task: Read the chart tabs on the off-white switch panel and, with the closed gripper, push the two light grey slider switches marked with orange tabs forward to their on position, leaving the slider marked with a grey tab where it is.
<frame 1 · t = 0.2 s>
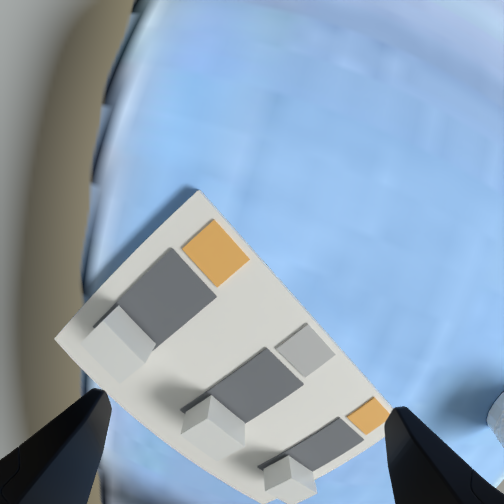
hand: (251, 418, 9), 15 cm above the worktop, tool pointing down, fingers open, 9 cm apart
middle slider: (213, 429, 23), point 3 cm above the worktop, slide at 0.0 cm
switch unit: (238, 393, 25), on the worktop
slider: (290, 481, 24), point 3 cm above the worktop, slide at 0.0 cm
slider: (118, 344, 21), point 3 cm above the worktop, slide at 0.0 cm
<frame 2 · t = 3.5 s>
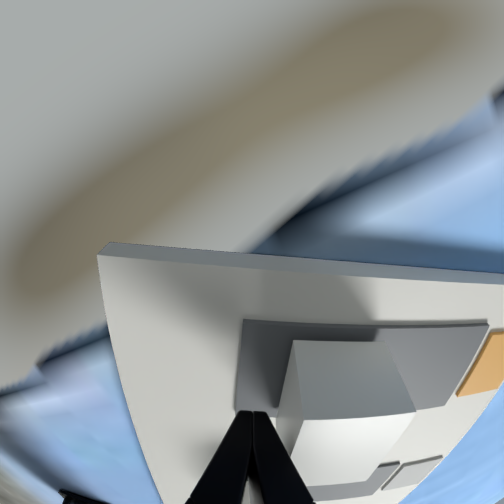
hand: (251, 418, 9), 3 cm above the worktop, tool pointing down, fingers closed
switch unit: (306, 473, 15), on the worktop
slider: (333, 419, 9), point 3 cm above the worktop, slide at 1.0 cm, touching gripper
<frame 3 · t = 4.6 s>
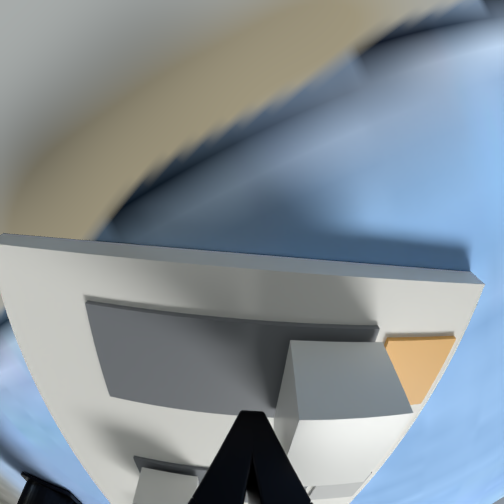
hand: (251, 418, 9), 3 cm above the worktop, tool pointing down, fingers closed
switch unit: (219, 471, 15), on the worktop
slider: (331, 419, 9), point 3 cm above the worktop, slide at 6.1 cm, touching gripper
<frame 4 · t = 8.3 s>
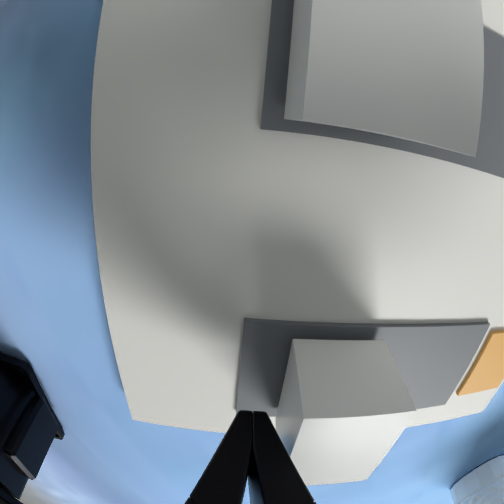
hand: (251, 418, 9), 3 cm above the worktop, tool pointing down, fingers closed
middle slider: (376, 35, 5), point 3 cm above the worktop, slide at 0.0 cm
switch unit: (417, 78, 7), on the worktop
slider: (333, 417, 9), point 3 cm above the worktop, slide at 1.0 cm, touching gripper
white cup: (478, 472, 19), on the worktop
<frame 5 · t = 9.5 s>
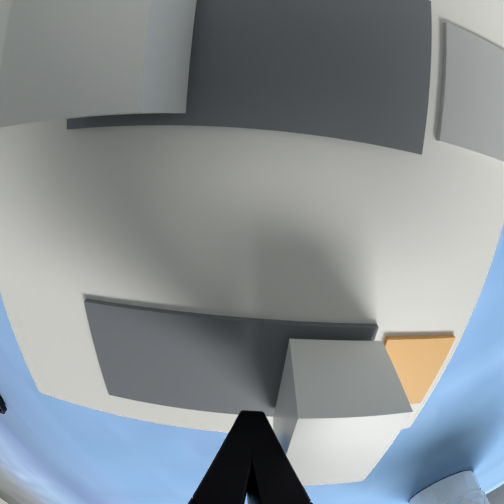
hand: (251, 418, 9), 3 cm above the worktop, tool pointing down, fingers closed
middle slider: (106, 23, 5), point 3 cm above the worktop, slide at 0.0 cm
switch unit: (239, 47, 7), on the worktop
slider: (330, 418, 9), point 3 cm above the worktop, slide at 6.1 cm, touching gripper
white cup: (441, 486, 19), on the worktop
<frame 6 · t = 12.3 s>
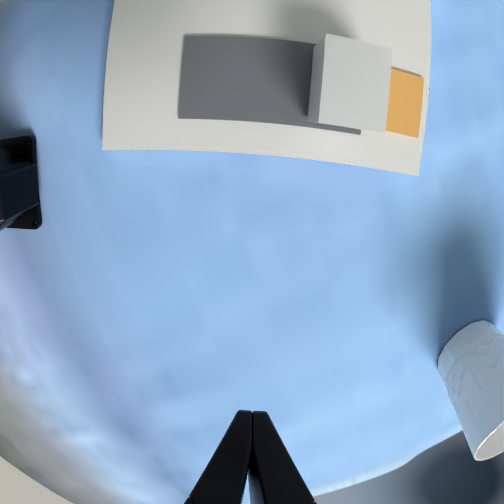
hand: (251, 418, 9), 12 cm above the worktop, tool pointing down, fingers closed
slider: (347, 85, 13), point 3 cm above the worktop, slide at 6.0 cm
white cup: (466, 348, 23), on the worktop
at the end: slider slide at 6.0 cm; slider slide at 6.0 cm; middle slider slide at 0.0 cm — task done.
